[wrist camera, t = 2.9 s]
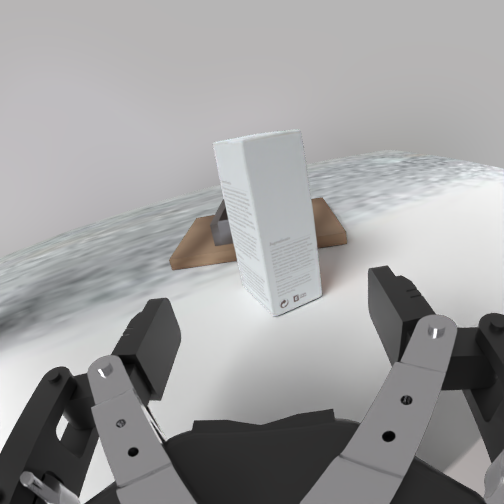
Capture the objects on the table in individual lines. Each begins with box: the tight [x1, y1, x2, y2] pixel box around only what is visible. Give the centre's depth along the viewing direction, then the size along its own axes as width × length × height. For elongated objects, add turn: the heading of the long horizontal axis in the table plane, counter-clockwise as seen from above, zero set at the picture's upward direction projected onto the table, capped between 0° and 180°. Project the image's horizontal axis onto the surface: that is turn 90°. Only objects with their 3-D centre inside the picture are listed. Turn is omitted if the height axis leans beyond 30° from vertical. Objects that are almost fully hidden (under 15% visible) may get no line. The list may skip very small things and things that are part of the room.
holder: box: [169, 198, 347, 270], centre depth 37 cm, size 18×14×4 cm
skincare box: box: [213, 129, 322, 316], centre depth 22 cm, size 6×4×12 cm
